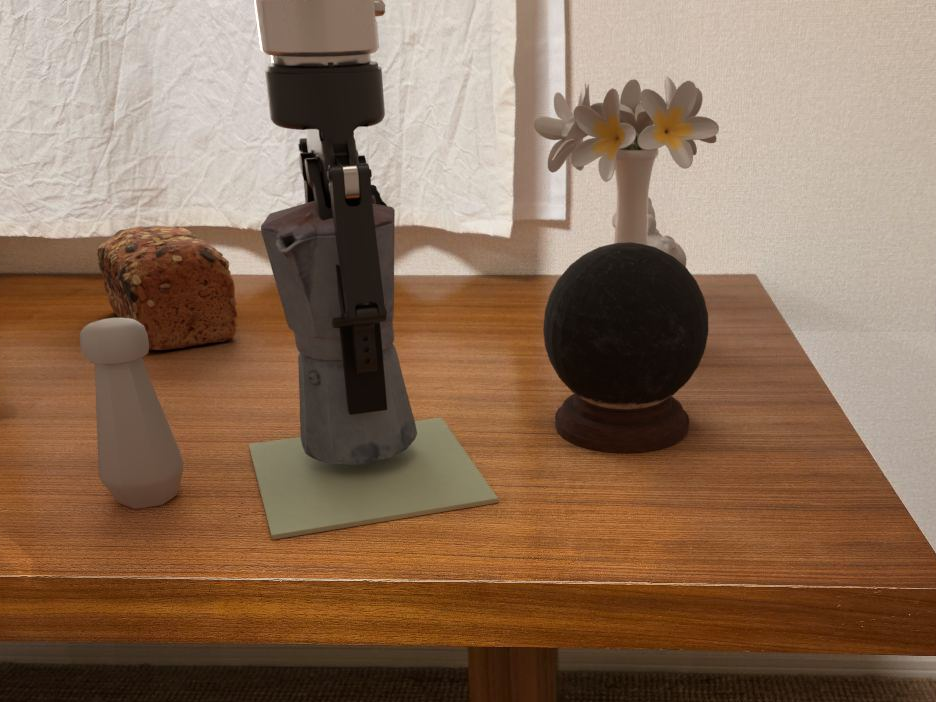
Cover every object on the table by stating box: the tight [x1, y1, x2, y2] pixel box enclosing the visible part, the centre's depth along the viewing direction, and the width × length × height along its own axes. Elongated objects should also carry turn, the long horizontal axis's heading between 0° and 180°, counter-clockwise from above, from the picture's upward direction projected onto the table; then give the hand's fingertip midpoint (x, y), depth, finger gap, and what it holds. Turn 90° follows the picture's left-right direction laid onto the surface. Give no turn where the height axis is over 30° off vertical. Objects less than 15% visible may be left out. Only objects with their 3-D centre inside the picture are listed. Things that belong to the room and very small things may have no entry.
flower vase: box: [533, 76, 720, 245], centre depth 97 cm, size 13×18×25 cm
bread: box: [96, 225, 238, 351], centre depth 107 cm, size 19×11×10 cm, turn 30°
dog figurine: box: [611, 196, 687, 268], centre depth 116 cm, size 5×13×11 cm, turn 23°
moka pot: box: [260, 184, 417, 465], centre depth 74 cm, size 10×15×20 cm, turn 167°
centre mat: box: [248, 417, 499, 541], centre depth 77 cm, size 16×16×1 cm
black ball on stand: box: [542, 242, 710, 454], centre depth 81 cm, size 13×13×15 cm
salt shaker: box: [79, 317, 184, 510], centre depth 71 cm, size 6×6×13 cm
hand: (354, 387), depth 76 cm, fingers closed on moka pot, 9 cm apart
